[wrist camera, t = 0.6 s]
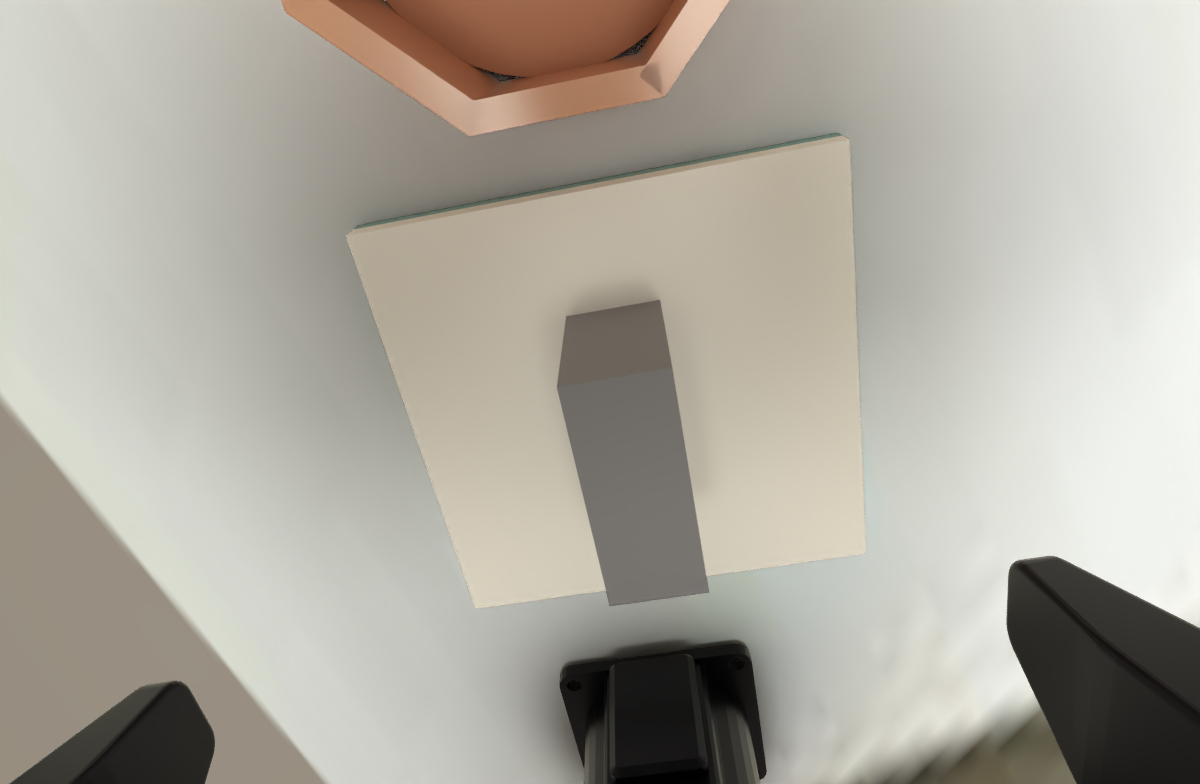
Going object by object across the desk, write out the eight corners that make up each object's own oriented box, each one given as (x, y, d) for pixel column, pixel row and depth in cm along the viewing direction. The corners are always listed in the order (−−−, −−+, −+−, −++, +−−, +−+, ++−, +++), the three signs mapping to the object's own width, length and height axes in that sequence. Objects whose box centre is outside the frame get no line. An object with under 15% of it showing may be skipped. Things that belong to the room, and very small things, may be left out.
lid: (860, 540, 23) (915, 656, 19) (478, 595, 24) (452, 716, 20) (842, 135, 18) (913, 174, 14) (352, 229, 19) (281, 291, 15)
